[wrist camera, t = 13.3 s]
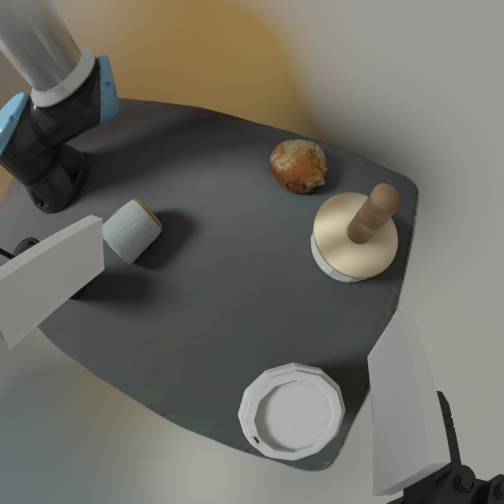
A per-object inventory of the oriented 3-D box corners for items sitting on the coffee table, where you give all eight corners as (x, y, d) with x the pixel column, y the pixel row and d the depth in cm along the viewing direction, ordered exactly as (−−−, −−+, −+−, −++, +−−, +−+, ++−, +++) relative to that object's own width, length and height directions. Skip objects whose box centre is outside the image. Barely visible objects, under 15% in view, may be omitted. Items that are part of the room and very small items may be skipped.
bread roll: (314, 164, 52) (314, 128, 47) (337, 192, 45) (340, 151, 40) (265, 173, 52) (261, 135, 46) (282, 204, 45) (280, 160, 39)
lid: (294, 225, 39) (307, 183, 28) (355, 181, 41) (378, 136, 31) (355, 297, 35) (391, 278, 25) (409, 243, 38) (449, 211, 27)
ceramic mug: (171, 234, 44) (155, 212, 37) (136, 271, 42) (115, 255, 35) (134, 199, 46) (117, 176, 39) (103, 232, 44) (81, 213, 37)
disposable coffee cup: (294, 342, 38) (317, 342, 24) (330, 401, 35) (369, 428, 21) (230, 379, 37) (216, 398, 23) (267, 437, 34) (274, 483, 20)
